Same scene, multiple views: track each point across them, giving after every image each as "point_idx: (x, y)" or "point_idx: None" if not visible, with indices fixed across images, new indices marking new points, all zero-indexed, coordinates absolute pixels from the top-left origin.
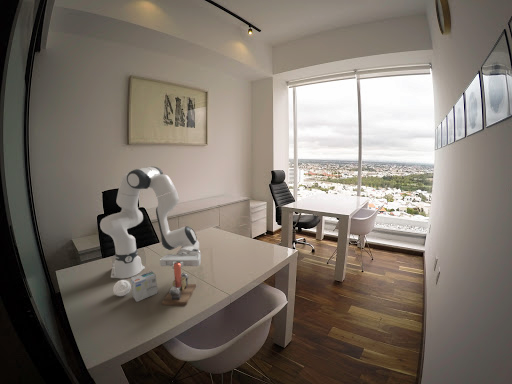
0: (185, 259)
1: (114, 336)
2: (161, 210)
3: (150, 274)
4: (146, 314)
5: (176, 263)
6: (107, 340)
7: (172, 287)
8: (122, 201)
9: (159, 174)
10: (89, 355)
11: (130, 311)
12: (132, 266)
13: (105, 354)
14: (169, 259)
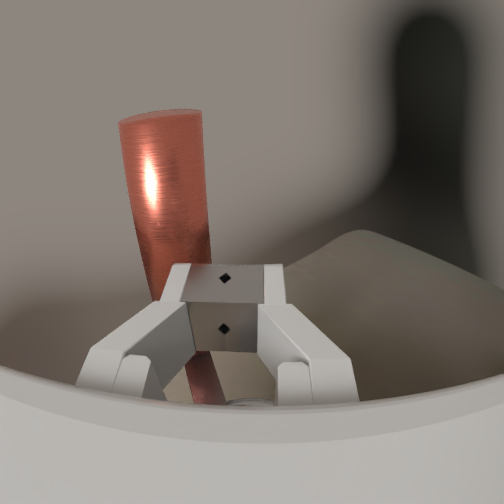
0: (9, 388)
1: (386, 278)
2: None
3: None
4: (364, 366)
5: (167, 116)
6: (392, 268)
7: (268, 402)
8: None
9: None
10: (388, 240)
11: (446, 371)
12: None
13: (355, 242)
14: (499, 389)
